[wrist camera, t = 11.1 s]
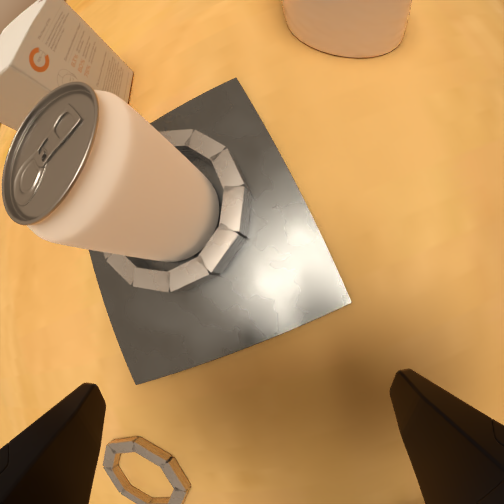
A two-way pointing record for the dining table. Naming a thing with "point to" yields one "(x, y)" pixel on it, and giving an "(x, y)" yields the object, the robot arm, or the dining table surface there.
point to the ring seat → (223, 251)
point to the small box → (53, 59)
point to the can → (105, 180)
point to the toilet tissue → (348, 25)
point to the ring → (153, 455)
